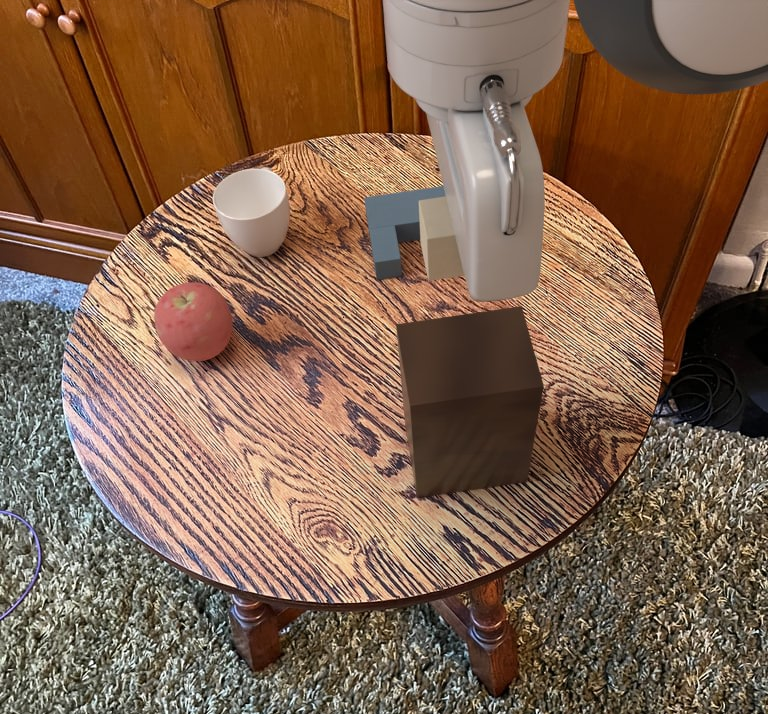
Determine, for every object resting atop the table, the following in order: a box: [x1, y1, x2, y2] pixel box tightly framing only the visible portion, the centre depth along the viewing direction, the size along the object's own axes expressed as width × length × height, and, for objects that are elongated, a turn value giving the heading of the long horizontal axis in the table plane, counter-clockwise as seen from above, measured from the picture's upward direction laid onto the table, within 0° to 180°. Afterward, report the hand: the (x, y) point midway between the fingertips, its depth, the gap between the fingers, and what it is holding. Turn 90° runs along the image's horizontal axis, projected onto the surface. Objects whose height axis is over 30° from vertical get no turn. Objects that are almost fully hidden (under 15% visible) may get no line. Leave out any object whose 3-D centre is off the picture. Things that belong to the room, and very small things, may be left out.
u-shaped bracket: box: [363, 185, 446, 281], centre depth 83 cm, size 13×10×2 cm
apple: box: [153, 281, 234, 362], centre depth 76 cm, size 7×7×8 cm
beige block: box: [419, 196, 465, 282], centre depth 49 cm, size 6×4×4 cm, turn 97°
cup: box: [212, 166, 291, 258], centre depth 83 cm, size 8×10×7 cm
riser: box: [395, 305, 545, 499], centre depth 65 cm, size 10×8×14 cm
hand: (470, 243), depth 50 cm, fingers closed on beige block, 3 cm apart
